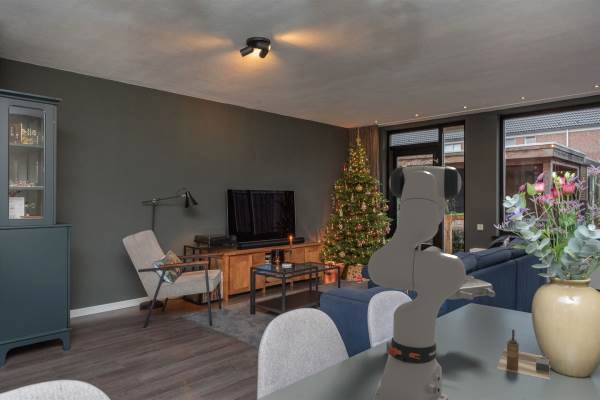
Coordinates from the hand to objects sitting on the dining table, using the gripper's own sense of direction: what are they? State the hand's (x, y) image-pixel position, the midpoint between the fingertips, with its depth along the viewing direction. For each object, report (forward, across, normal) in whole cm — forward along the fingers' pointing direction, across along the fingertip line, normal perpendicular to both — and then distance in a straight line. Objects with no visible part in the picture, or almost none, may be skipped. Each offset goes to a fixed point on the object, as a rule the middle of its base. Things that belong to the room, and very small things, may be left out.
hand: (483, 295), depth 142 cm
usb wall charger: (-11, -26, +21) cm, 35 cm away
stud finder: (+16, +9, +20) cm, 27 cm away
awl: (+13, 0, +20) cm, 23 cm away
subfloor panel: (+11, +7, +21) cm, 24 cm away
